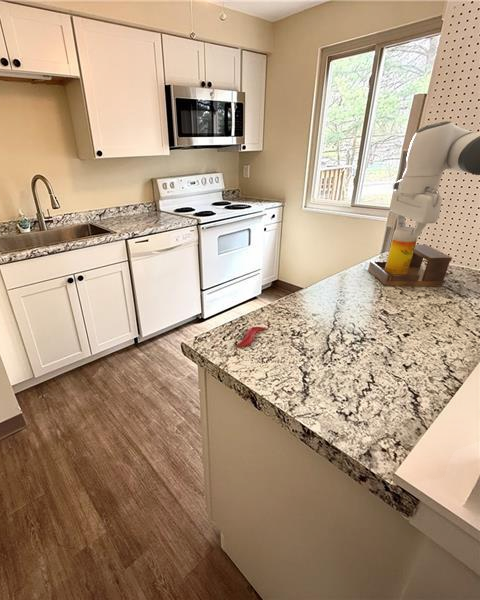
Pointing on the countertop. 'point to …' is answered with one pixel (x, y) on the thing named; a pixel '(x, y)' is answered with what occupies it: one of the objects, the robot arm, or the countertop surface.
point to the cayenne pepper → (250, 336)
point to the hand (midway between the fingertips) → (407, 231)
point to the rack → (416, 269)
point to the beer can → (400, 251)
